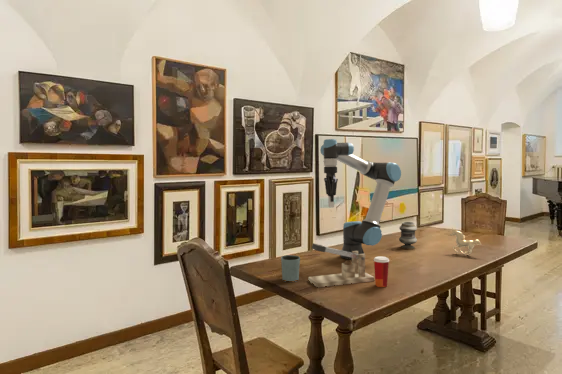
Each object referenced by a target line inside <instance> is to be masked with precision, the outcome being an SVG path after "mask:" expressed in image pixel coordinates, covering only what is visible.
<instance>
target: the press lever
mask: <svg viewBox="0 0 562 374" xmlns="http://www.w3.org/2000/svg"><path fill="white" fill-rule="evenodd" d="M311 249H312V250H314V251H318V252H322V253H329V254H334V255H340V256H341V255H342V256H347V257H352V258H356V259H358V257H359V254H357V253H352V252H347V251H343V250H342V249H337V248H334V247H328V246H324V245H322V244H318V243H312V245H311Z"/></svg>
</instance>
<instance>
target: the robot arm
mask: <svg viewBox="0 0 562 374" xmlns="http://www.w3.org/2000/svg"><path fill="white" fill-rule="evenodd" d="M319 151H320V154H321V155H322V156H323V173H324V174H326V175H325V177H324V178H323V181H324V185H325V193H326V194H325V195H327V196H328V197H327V198H328V199H327V200H328V202H327V203H328V208H335V201H334V200H335V197H334V196H336V195H337V188H338V186H337V185H338V181H339V179H338V178H336V174H337V173H338V167H337V166H338V162H339V163H343V164H344V165H346V166H348V167H350V168H353V169H354V170H356V171H359V173H360V174H361V175H363V176H366V178H370V179H372V180H375V182H376V186H375V188H374V191H373V194H372V197H371V200H370V204H369V207H368V210H367V213H366V217H365V219H363V220H362V221H360V220H357V221H345V222H344V223H343V226H342V230H343V231H342V232H343V233H342V235H343V237H342V238H343V240H342V241H343V245H342V249H341V250H343V251H347V252H352V251H358V254H365V252H364V248H363V246H362V244H363V245H366V246H371V247H372V246H375V245H378V244H379V243H380V242H381V240H382V237H383V233H382V229H381V224H380V222H381V218H382V215H383V213H384V209H385V206H386V203H387V199H388V197H389V194H390V189H391V188H392V187H394V185H395V182H398V181H400V180H401V178H402V170H401V167H400V165H399V164H397V163H395V162H391V161H389V162H373V161H370V160H367V159H366V160H364V159H363V158H361V157H359V156H357V155H354V154H353V153H354V151H355V147H354V144H353V143H352V142H338V141H337V139H335V138H327V139H324V140H323V144H322V145H320V149H319ZM340 258H341V259H344V258H345V260H350V261H352V257H347V256H342V255H340Z"/></svg>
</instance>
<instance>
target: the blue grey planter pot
mask: <svg viewBox="0 0 562 374" xmlns="http://www.w3.org/2000/svg"><path fill="white" fill-rule="evenodd" d="M280 259H281V261H280V262H281V277H282V281H283V280H286V281H295V280H298V281H299V276H300V263H301V257H300V256H299V255H293V254H292V255H291V254H290V255H288V254H287V255H282V256H281V257H280ZM286 281H285V282H286ZM295 282H296V281H295Z"/></svg>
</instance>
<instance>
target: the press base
mask: <svg viewBox="0 0 562 374" xmlns="http://www.w3.org/2000/svg"><path fill="white" fill-rule="evenodd" d="M352 253H357V254H358V251H352ZM307 278H308V280H309V281H310V284H312V283H313V284H314V285H313V284H312V285H313V286H315V287H316V288H317V287H318V288H326V287H325V286H327V287H334V285H335V286H344V285H349V284H351V283H352V284H358V283H359V284H360V283H366V282H367V283H370V282H375V276H373V275H371V274H369V273H368V272H366V253H364V254H359V257H358V259H356V258H352V260H351V259H346V260H345V261H344V262H342V263H341V272H340V273H334V274H333V273H332V274H325V275H315V276H314V275H313V276H308V277H307ZM309 281H308V282H309ZM343 284H344V285H343Z"/></svg>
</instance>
